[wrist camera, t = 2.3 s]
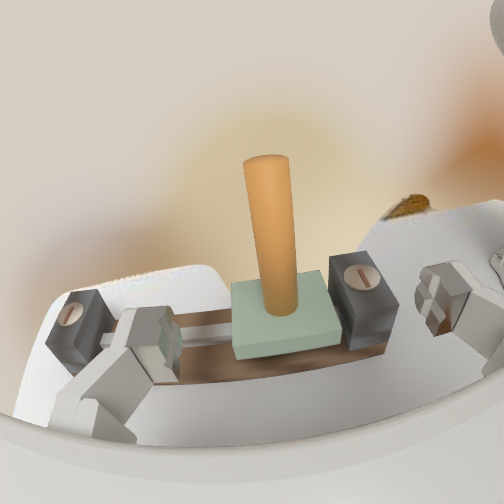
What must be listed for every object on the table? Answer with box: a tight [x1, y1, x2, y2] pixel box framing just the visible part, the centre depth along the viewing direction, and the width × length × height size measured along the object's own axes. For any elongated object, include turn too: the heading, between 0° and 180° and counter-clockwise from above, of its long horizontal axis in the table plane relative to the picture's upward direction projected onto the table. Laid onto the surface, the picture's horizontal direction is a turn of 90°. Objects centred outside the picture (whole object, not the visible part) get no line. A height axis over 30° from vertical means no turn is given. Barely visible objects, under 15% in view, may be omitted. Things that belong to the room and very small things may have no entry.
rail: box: [45, 251, 399, 385], centre depth 27 cm, size 33×8×8 cm, turn 94°
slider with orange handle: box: [231, 155, 342, 360], centre depth 23 cm, size 9×8×15 cm
